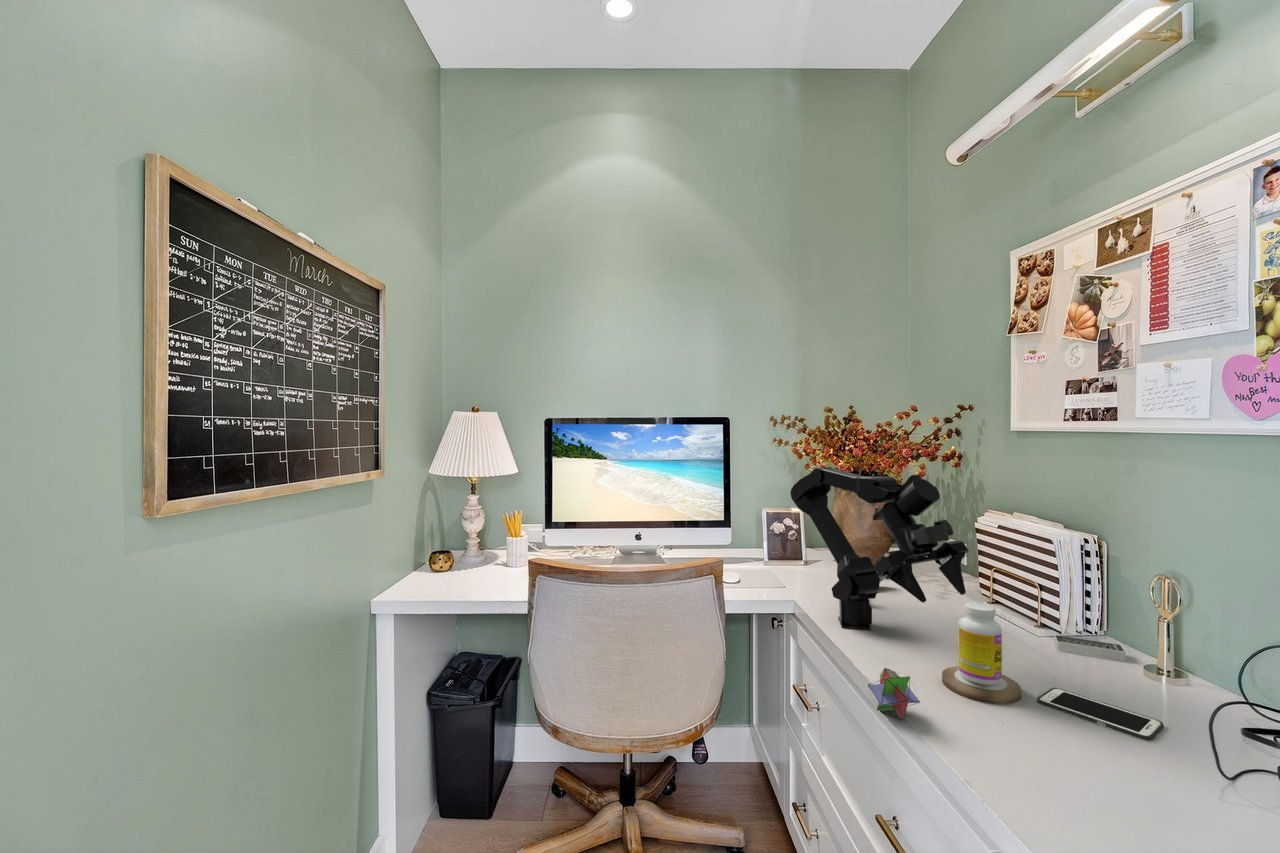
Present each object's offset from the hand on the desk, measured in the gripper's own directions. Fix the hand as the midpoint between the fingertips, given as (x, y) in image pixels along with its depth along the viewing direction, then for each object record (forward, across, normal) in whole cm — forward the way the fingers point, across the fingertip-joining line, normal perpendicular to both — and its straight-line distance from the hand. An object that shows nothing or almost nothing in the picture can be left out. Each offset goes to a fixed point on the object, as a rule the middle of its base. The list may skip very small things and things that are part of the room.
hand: (944, 597), depth 108 cm
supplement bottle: (+15, -2, +1) cm, 15 cm away
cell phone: (+25, +8, -7) cm, 27 cm away
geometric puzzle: (+17, -23, -3) cm, 29 cm away
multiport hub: (+14, +32, +9) cm, 36 cm away
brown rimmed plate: (+16, -2, +1) cm, 16 cm away
